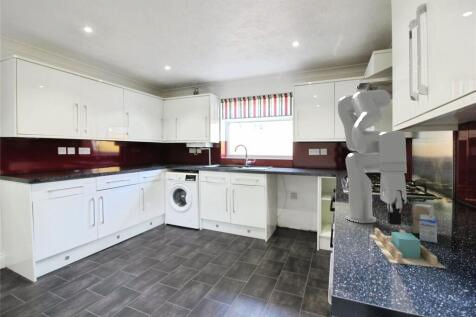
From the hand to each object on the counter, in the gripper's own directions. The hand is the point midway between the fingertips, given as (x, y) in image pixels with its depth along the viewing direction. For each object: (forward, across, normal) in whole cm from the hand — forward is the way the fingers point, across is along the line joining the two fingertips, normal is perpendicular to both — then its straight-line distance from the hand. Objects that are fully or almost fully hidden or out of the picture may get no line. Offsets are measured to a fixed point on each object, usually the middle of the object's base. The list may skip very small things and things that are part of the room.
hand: (394, 223), depth 73 cm
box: (+7, -15, +14) cm, 22 cm away
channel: (+8, +5, 0) cm, 9 cm away
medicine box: (+8, -7, +12) cm, 16 cm away
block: (+6, +8, 0) cm, 11 cm away
